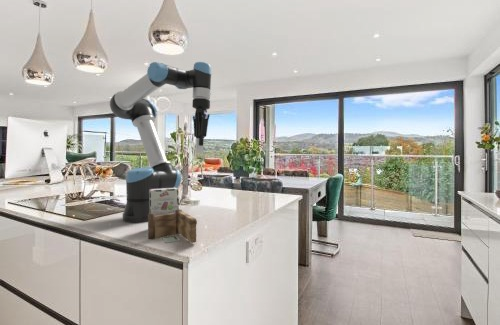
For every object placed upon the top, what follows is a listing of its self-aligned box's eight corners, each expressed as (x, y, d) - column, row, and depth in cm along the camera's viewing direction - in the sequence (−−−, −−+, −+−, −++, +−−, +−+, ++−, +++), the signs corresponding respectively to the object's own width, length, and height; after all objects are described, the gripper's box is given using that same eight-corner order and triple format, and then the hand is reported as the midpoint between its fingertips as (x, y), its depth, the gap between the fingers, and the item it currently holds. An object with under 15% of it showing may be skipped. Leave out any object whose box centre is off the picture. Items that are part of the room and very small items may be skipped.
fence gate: (177, 232, 106) (177, 211, 106) (182, 231, 107) (182, 211, 107) (191, 243, 94) (191, 219, 94) (196, 242, 95) (196, 218, 95)
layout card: (161, 238, 102) (161, 236, 102) (175, 236, 104) (175, 234, 104) (165, 243, 96) (165, 241, 96) (179, 240, 99) (179, 239, 99)
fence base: (180, 232, 109) (180, 209, 109) (182, 233, 108) (182, 210, 107) (147, 238, 101) (147, 213, 101) (149, 240, 99) (149, 214, 99)
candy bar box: (177, 225, 118) (177, 187, 118) (179, 228, 114) (179, 188, 113) (149, 228, 114) (148, 188, 113) (150, 231, 109) (149, 190, 109)
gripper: (215, 98, 119) (213, 153, 120) (203, 102, 130) (201, 153, 131) (199, 95, 115) (197, 153, 116) (187, 100, 126) (185, 152, 127)
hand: (199, 153), depth 123 cm, fingers closed
